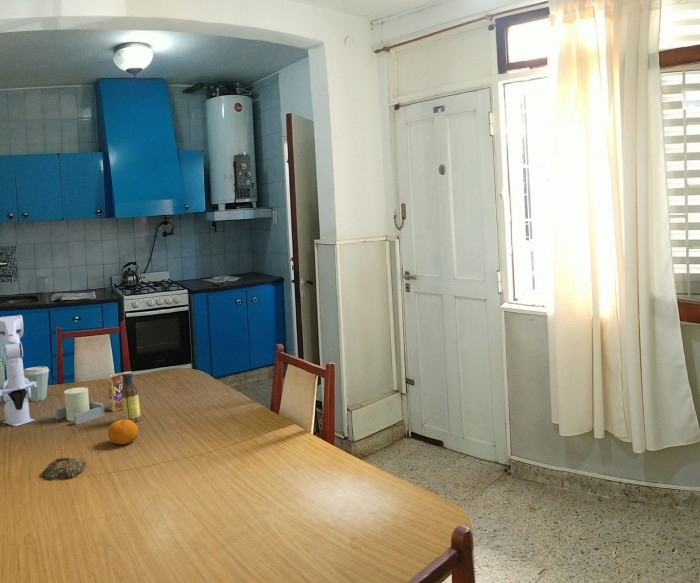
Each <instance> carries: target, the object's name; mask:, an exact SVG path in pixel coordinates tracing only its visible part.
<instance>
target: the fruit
mask: <svg viewBox="0 0 700 583" xmlns="http://www.w3.org/2000/svg"><path fill="white" fill-rule="evenodd" d="M138 435H139V428H138V425H137V423H136V422H133V421H131V420H127V419H125V418H124V419H119V420H116V421H114V422H113V423H111V424H110V425H109V427H108V429H107V437H108V439H109V440H110V442H111V443H113V444H116V445H127V444H129V443H132V442H133V441H135V440H136V438H137V437H138Z"/></svg>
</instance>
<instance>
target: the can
mask: <svg viewBox="0 0 700 583" xmlns="http://www.w3.org/2000/svg"><path fill="white" fill-rule="evenodd" d="M63 393H64V401H65V407H66V415H67V417H65V418H66V421H68V422H75V421H74V415H75V414H78V413H81V412H84V411H87V410H90V407H89V401H90V398H89V388H88V387H84V386H81V387H73V388H68V389H65V390H64V391H63Z"/></svg>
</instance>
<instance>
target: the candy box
mask: <svg viewBox="0 0 700 583" xmlns="http://www.w3.org/2000/svg"><path fill="white" fill-rule="evenodd" d="M122 373H123V372H118V373H113V374H107V390H108V391H107V392H108V393H107V394H108V403H109V405H108V406H109V407H108V408H109V410H110V411H111V410H112V411H111V412H116V411H120V409H121V410H123V403H122V393H121V390H122V387H123V377H122Z"/></svg>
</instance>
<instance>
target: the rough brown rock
mask: <svg viewBox="0 0 700 583" xmlns="http://www.w3.org/2000/svg"><path fill="white" fill-rule="evenodd" d="M86 466H87V462H86V460H85V459H84V458H81V457H79V456H65V457H60V458H56V459H54V460H53V461H51V462H50V463H49V464H48V465H47V466H46V467H45V468H44V470H43V471H42V473H41V476H42V477H43V478H45V479H46V480H52V481H53V480H54V481H55V480H63V481H66V480H71V479H73V478H75V477H76V476H78V475H80V474H81V473H82V472H83V471H84V470H85V467H86Z"/></svg>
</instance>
